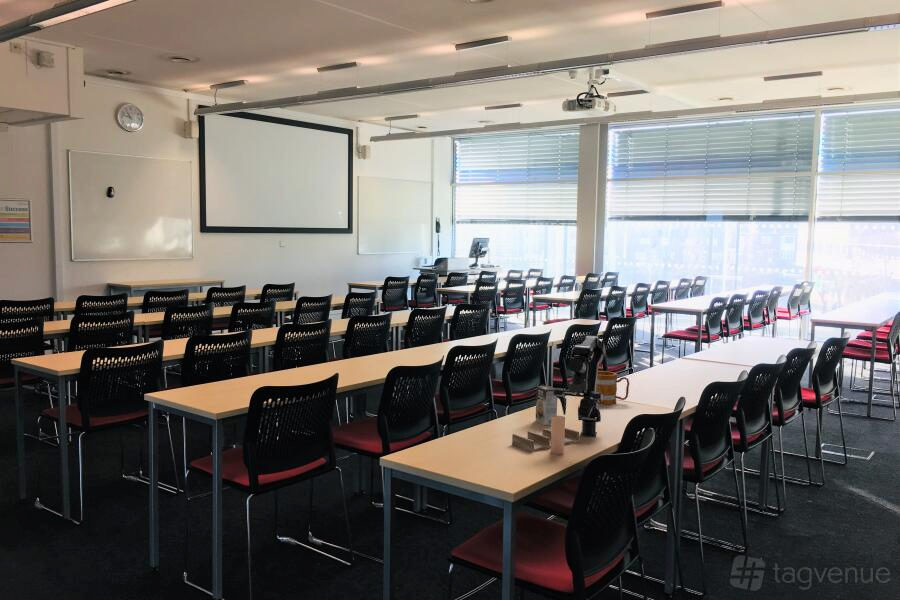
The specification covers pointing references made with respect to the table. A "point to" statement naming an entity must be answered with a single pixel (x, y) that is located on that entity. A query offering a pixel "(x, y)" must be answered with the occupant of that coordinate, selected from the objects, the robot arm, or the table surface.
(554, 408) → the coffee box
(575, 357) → the robot arm
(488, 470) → the table surface
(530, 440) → the rack
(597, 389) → the mug
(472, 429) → the table surface
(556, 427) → the wooden block
